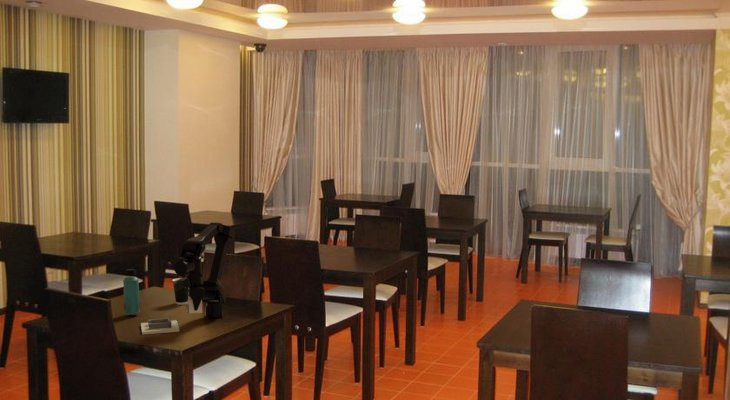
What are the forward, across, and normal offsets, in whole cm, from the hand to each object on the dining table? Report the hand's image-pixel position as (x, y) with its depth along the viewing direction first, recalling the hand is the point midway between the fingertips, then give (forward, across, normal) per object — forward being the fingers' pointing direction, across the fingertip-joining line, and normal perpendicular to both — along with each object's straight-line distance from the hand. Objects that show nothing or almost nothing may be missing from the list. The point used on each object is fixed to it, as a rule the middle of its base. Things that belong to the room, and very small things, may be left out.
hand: (195, 309), depth 303 cm
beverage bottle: (+7, -25, -24) cm, 35 cm away
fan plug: (+1, 0, 0) cm, 1 cm away
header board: (+7, 0, -14) cm, 15 cm away
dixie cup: (+7, -41, -2) cm, 42 cm away
